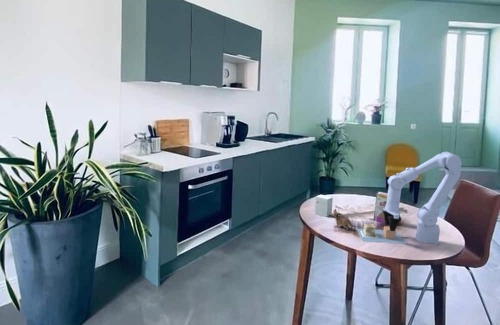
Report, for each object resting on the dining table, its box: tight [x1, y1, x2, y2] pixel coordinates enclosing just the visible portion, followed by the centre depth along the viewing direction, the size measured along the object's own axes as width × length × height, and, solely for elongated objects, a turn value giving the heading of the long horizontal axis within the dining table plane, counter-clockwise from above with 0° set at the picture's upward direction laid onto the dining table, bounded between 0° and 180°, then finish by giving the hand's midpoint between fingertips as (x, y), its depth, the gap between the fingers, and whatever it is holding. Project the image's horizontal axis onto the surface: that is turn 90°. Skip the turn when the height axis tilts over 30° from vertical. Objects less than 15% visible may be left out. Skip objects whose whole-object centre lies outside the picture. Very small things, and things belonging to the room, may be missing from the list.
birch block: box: [363, 223, 377, 236], centre depth 177 cm, size 4×4×4 cm
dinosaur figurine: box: [332, 209, 357, 231], centre depth 185 cm, size 14×6×9 cm, turn 49°
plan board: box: [355, 227, 407, 245], centre depth 177 cm, size 20×16×1 cm
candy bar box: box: [373, 191, 388, 224], centre depth 194 cm, size 11×5×16 cm, turn 58°
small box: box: [314, 194, 333, 218], centre depth 206 cm, size 8×6×10 cm
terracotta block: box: [382, 225, 397, 239], centre depth 175 cm, size 4×4×4 cm
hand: (389, 227), depth 174 cm, fingers open, 7 cm apart
